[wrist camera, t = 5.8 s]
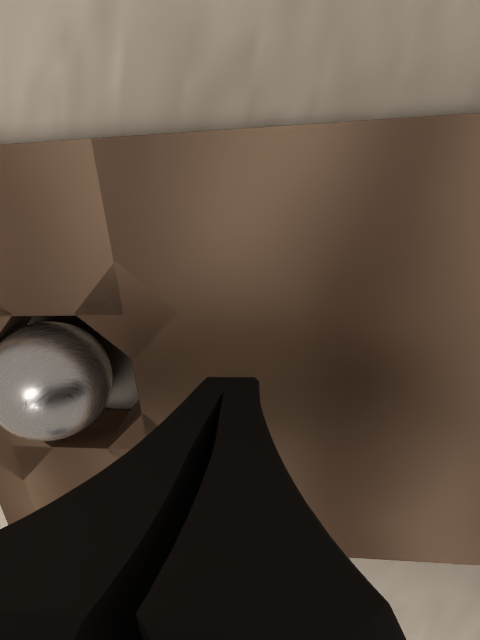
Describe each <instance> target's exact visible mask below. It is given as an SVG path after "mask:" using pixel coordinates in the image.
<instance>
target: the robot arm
mask: <svg viewBox="0 0 480 640" xmlns="http://www.w3.org/2000/svg"><path fill="white" fill-rule="evenodd" d="M0 640H406V638H405V636H404V634H403V632H402V629H401V627H400V625H399V623H398V621H397V619H396V617H395V615H394V613H393V610H392V608H391V606H390V604H389V603H388V602H387V601H386V600H385V599H384V597H383V596H382V595H381V594H380V593H379V592H378V591H377V590H376V589H375V588H374V587H373V586H372V585H371V583H370V582H369V581H368V580H367V579H366V578H365V577H364V576H363V574H362V573H361V572H360V571H359V570H358V569H357V568H356V567H355V565H354V564H353V563H352V562H351V561H350V560H349V558H348V557H347V556H346V555H345V553H344V552H343V551H342V550H341V548H340V547H339V546H338V545H337V544H336V542H335V541H334V540H333V539H332V537H331V536H330V535H329V533H328V532H327V531H326V529H325V528H324V526H323V525H322V524H321V522H320V521H319V519H318V518H317V517H316V515H315V514H314V512H313V511H312V510H311V508H310V507H309V505H308V504H307V503H306V501H305V499H304V498H303V496H302V495H301V493H300V491H299V490H298V488H297V487H296V485H295V483H294V481H293V480H292V478H291V476H290V474H289V473H288V471H287V469H286V467H285V465H284V463H283V461H282V459H281V457H280V455H279V453H278V451H277V449H276V446H275V444H274V442H273V440H272V437H271V435H270V432H269V430H268V427H267V424H266V421H265V418H264V415H263V412H262V408H261V404H260V387H259V381H258V380H257V379H256V378H255V377H207V378H206V379H204V380H203V381H202V382H201V383H200V384H199V385H198V386H197V387H196V388H195V390H194V391H193V392H192V393H191V394H190V395H189V396H188V397H187V398H186V399H185V400H184V401H183V402H182V403H181V404H180V405H179V406H178V407H177V408H176V409H175V410H174V411H173V412H172V413H171V414H170V415H169V416H168V417H167V418H166V419H165V420H164V421H163V422H162V423H161V424H159V425H158V426H157V427H156V428H155V429H154V430H153V431H152V432H150V433H149V434H148V435H147V436H146V437H145V438H144V439H142V440H141V441H140V442H139V443H138V444H137V445H135V446H134V447H133V448H132V449H130V450H129V451H128V452H127V453H125V454H124V455H123V456H121V457H120V458H119V459H117V460H116V461H115V462H113V463H112V464H110V465H109V466H108V467H106V468H105V469H103V470H102V471H101V472H99V473H98V474H96V475H95V476H93V477H92V478H90V479H88V480H87V481H85V482H84V483H82V484H80V485H79V486H77V487H76V488H74V489H72V490H71V491H69V492H67V493H66V494H64V495H63V496H61V497H59V498H58V499H56V500H55V501H53V502H51V503H49V504H47V505H46V506H44V507H42V508H40V509H38V510H37V511H35V512H33V513H31V514H29V515H27V516H25V517H24V518H22V519H20V520H18V521H16V522H14V523H12V524H10V525H8V526H6V527H4V528H2V529H0Z"/></svg>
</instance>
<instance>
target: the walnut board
mask: <svg viewBox="0 0 480 640" xmlns="http://www.w3.org/2000/svg"><path fill="white" fill-rule="evenodd" d="M69 315H76V316H77V317H79V318H80V319H81V320H83V321H84V322H85V323H86V324H88V325H89V326H90V327H92V328H93V329H94V330H95V331H97V332H98V333H99V334H100V335H102V336H103V337H104V338H106V339H107V340H108V341H109V342H111V343H112V344H113V345H115V346H116V347H117V348H118V349H120V350H121V351H122V352H123V353H125V354H126V355H127V356H129V357H130V358H131V359H132V364H133V369H134V374H135V380H136V385H137V390H138V396H139V401H138V402H137V403H136V404H135V405H134V406H133V407H132V408H131V409H130V410H108V409H103V410H102V412H101V413H100V414H99V416H98V417H97V418H96V419H95V420H94V421H93V422H92V423H91V424H90V425H88V426H87V427H86V428H84V429H83V430H81V431H80V432H78V433H76V434H74V435H72V436H69V437H67V438H63V439H59V440H54V441H32V440H27V439H24V438H21V437H18V436H16V435H13V434H12V433H10V432H8V431H7V430H5V429H4V428H3V427H2V426H0V505H1V507H2V510H3V513H4V515H5V518H6V520H7V523H8V525H10V524H12V523H14V522H16V521H18V520H20V519H22V518H24V517H25V516H27V515H29V514H31V513H33V512H35V511H37V510H38V509H40V508H42V507H44V506H46V505H47V504H49V503H51V502H53V501H55V500H56V499H58V498H59V497H61V496H63V495H64V494H66V493H67V492H69V491H71V490H72V489H74V488H76V487H77V486H79V485H80V484H82V483H84V482H85V481H87V480H88V479H90V478H92V477H93V476H95V475H96V474H98V473H99V472H101V471H102V470H103V469H105V468H106V467H108V466H109V465H110V464H112V463H113V462H115V461H116V460H117V459H119V458H120V457H121V456H123V455H124V454H125V453H127V452H128V451H129V450H130V449H132V448H133V447H134V446H135V445H137V444H138V443H139V442H140V441H141V440H142V439H144V438H145V437H146V436H147V435H148V434H149V433H150V432H152V431H153V430H154V429H155V428H156V427H157V426H158V425H159V424H161V423H162V422H163V421H164V420H165V419H166V418H167V417H168V416H169V415H170V414H171V413H172V412H173V411H174V410H175V409H176V408H177V407H178V406H179V405H180V404H181V403H182V402H183V401H184V400H185V399H186V398H187V397H188V396H189V395H190V394H191V393H192V392H193V391H194V390H195V388H196V387H197V386H198V385H199V384H200V383H201V382H202V381H203V380H204V379H206V378H207V377H255V378H256V379H257V380H258V381H259V387H260V404H261V408H262V412H263V415H264V418H265V421H266V424H267V427H268V430H269V432H270V435H271V437H272V440H273V442H274V444H275V446H276V449H277V451H278V453H279V455H280V457H281V459H282V461H283V463H284V465H285V467H286V469H287V471H288V473H289V474H290V476H291V478H292V480H293V481H294V483H295V485H296V487H297V488H298V490H299V491H300V493H301V495H302V496H303V498H304V499H305V501H306V503H307V504H308V505H309V507H310V508H311V510H312V511H313V512H314V514H315V515H316V517H317V518H318V519H319V521H320V522H321V524H322V525H323V526H324V528H325V529H326V531H327V532H328V533H329V535H330V536H331V537H332V539H333V540H334V541H335V542H336V544H337V545H338V546H339V547H340V548H341V550H342V551H343V552H344V553H345V555H346V556H347V557H350V558H366V559H383V560H400V561H416V562H433V563H450V564H466V565H480V113H470V114H455V115H440V116H425V117H409V118H394V119H379V120H364V121H349V122H334V123H319V124H303V125H288V126H273V127H258V128H243V129H228V130H213V131H197V132H182V133H167V134H152V135H137V136H122V137H107V138H92V139H76V140H61V141H46V142H31V143H16V144H1V145H0V342H1V341H2V340H4V339H5V338H6V337H7V336H9V335H10V334H11V333H13V332H15V331H16V330H18V329H20V328H22V327H24V326H25V325H26V323H27V322H28V321H29V319H30V318H31V317H32V316H69Z"/></svg>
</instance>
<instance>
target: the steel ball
mask: <svg viewBox="0 0 480 640" xmlns="http://www.w3.org/2000/svg"><path fill="white" fill-rule="evenodd" d="M112 378H113V376H112V367H111V363H110V360H109V358H108V355H107V353H106V351H105V350H104V348H103V346H102V345H101V344H100V343H99V342H98V341H97V339H96V338H94V337H93V336H92V335H91V334H90V333H88V332H86V331H85V330H83V329H81V328H79V327H77V326H74V325H71V324H68V323H63V322H52V321H51V322H39V323H34V324H31V325H27V326H25V327H22V328H20V329H18V330H16V331H15V332H13V333H11V334H10V335H9V336H7V337H6V338H5V339H4V340H2V341H1V342H0V426H2V427H3V428H4V429H5V430H7V431H8V432H10V433H12V434H13V435H16V436H18V437H21V438H24V439H27V440H32V441H54V440H59V439H63V438H67V437H69V436H72V435H74V434H76V433H78V432H80V431H81V430H83V429H84V428H86V427H87V426H88V425H90V424H91V423H92V422H93V421H94V420H95V419H96V418H97V417H98V416H99V414H100V413H101V412H102V410H103V409H104V407H105V405H106V403H107V401H108V399H109V396H110V393H111V388H112Z"/></svg>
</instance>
